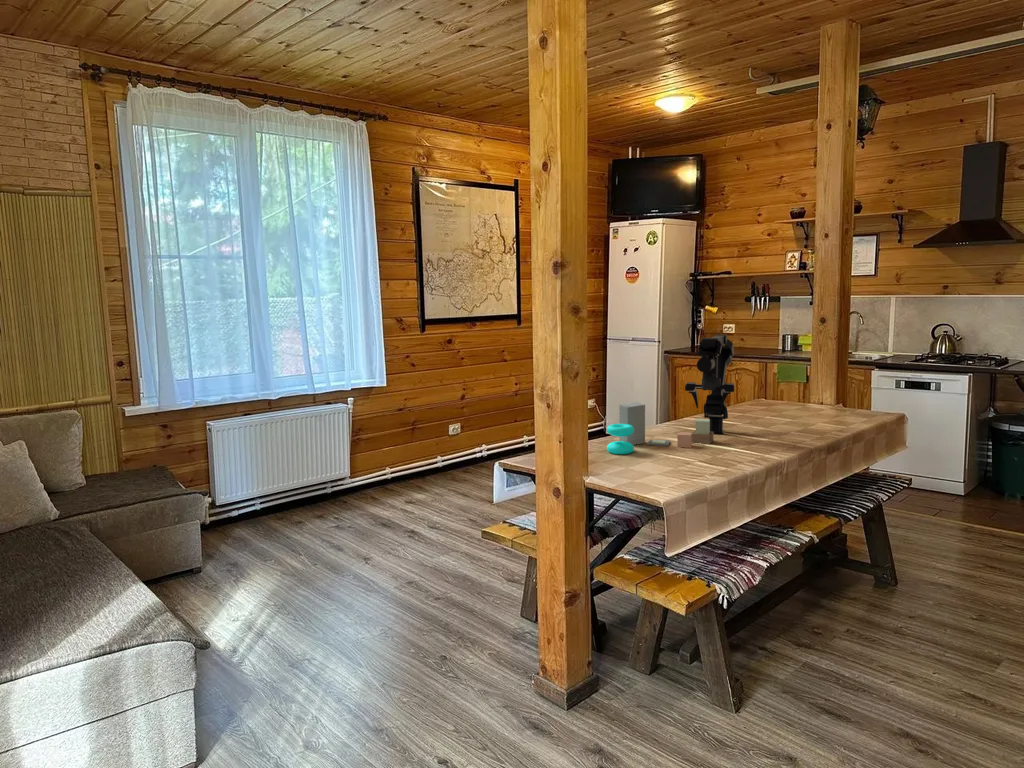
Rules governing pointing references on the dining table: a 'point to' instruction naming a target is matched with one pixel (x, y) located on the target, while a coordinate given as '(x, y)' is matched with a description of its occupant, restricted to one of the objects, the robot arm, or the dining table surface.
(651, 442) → the card
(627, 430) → the donuts
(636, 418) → the skincare box
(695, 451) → the dining table surface
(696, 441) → the walnut block
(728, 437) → the dining table surface
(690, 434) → the terracotta cube
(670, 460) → the dining table surface
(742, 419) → the dining table surface
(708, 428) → the sage cube
